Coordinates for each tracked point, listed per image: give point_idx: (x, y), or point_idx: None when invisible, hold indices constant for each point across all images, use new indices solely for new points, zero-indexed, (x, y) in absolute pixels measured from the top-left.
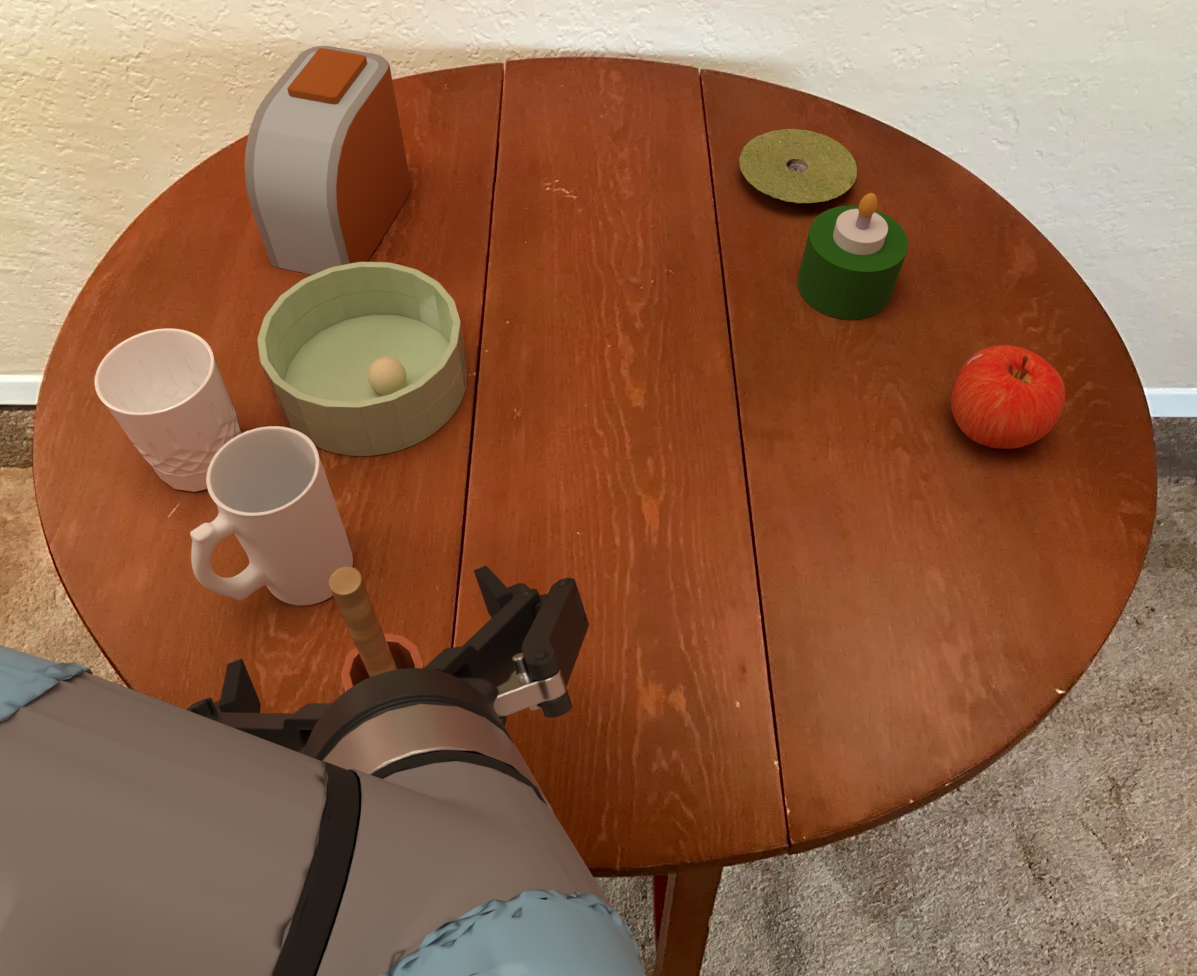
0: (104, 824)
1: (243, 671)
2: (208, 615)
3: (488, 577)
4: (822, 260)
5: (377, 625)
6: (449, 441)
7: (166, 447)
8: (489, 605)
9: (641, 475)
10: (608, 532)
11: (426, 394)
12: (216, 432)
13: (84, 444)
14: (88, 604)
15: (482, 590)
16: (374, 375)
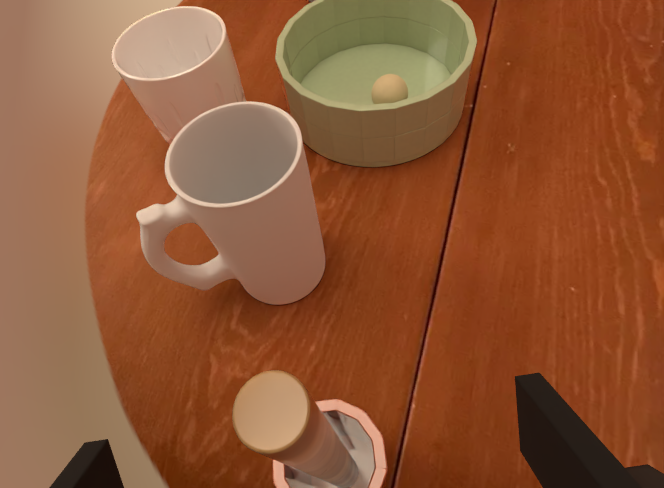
0: None
1: (91, 477)
2: (182, 292)
3: (569, 425)
4: None
5: (330, 452)
6: (438, 165)
7: (171, 122)
8: (547, 465)
9: (652, 236)
10: (610, 296)
11: (429, 110)
12: None
13: (132, 119)
14: (90, 257)
15: (531, 424)
16: (378, 89)
